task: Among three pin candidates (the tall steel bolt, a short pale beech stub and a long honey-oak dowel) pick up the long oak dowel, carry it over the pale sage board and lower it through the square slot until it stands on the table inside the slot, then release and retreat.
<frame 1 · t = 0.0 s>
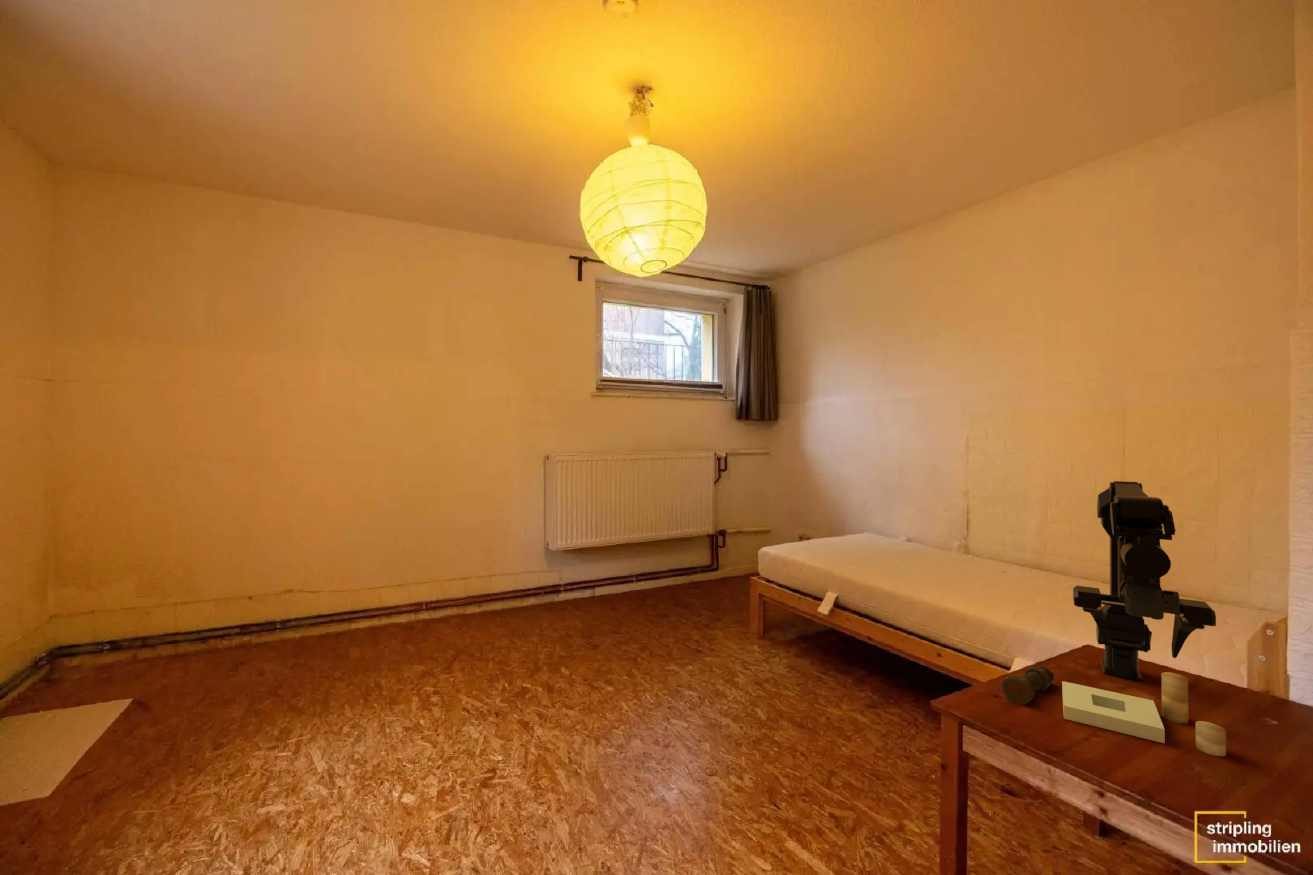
hand: (1139, 651, 96), 15 cm above the table, fingers open, 9 cm apart
short pin: (1210, 749, 90), on the table
bolt: (1032, 693, 111), on the table
long pin: (1174, 718, 100), on the table
board: (1108, 715, 101), on the table
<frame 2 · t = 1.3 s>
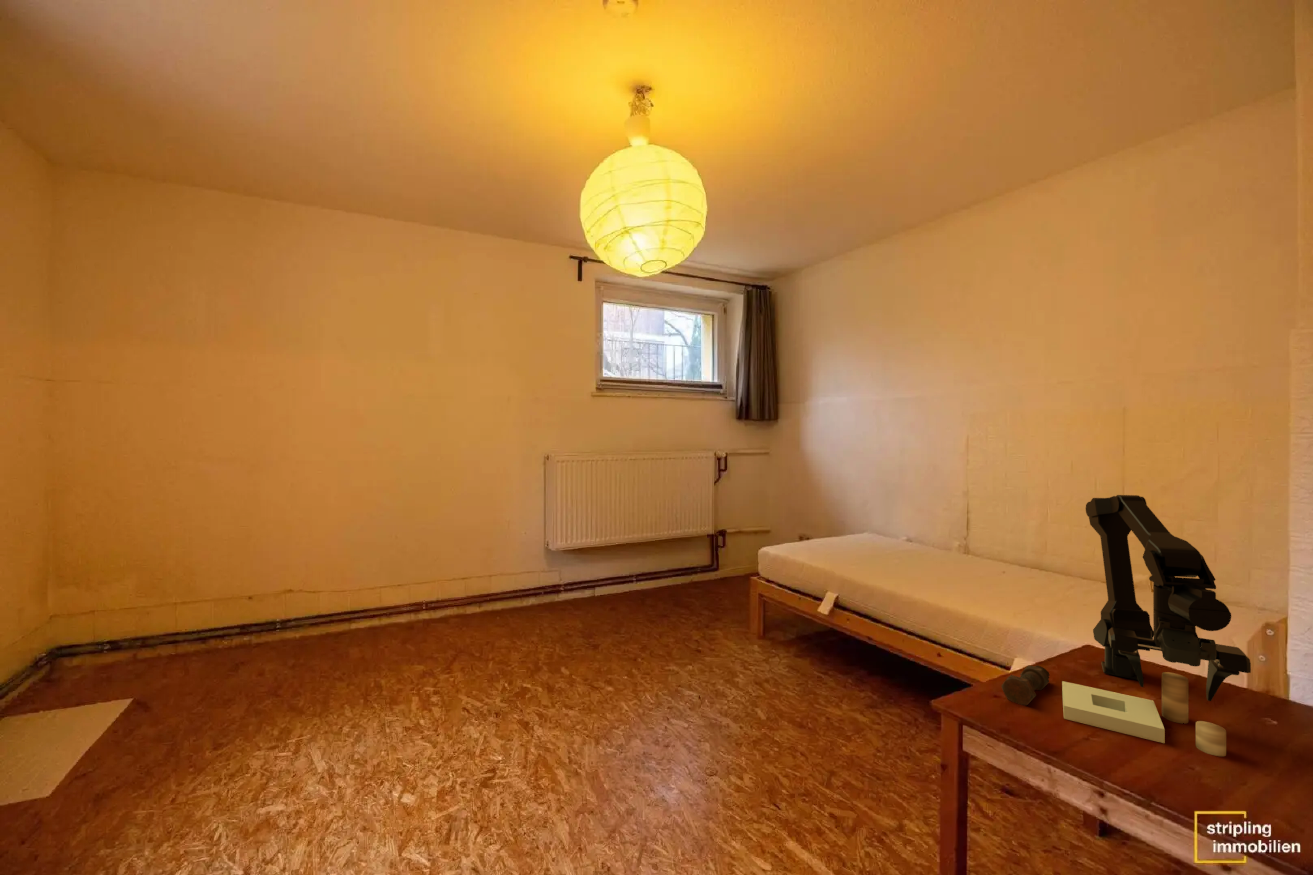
hand: (1174, 693, 100), 5 cm above the table, fingers open, 9 cm apart
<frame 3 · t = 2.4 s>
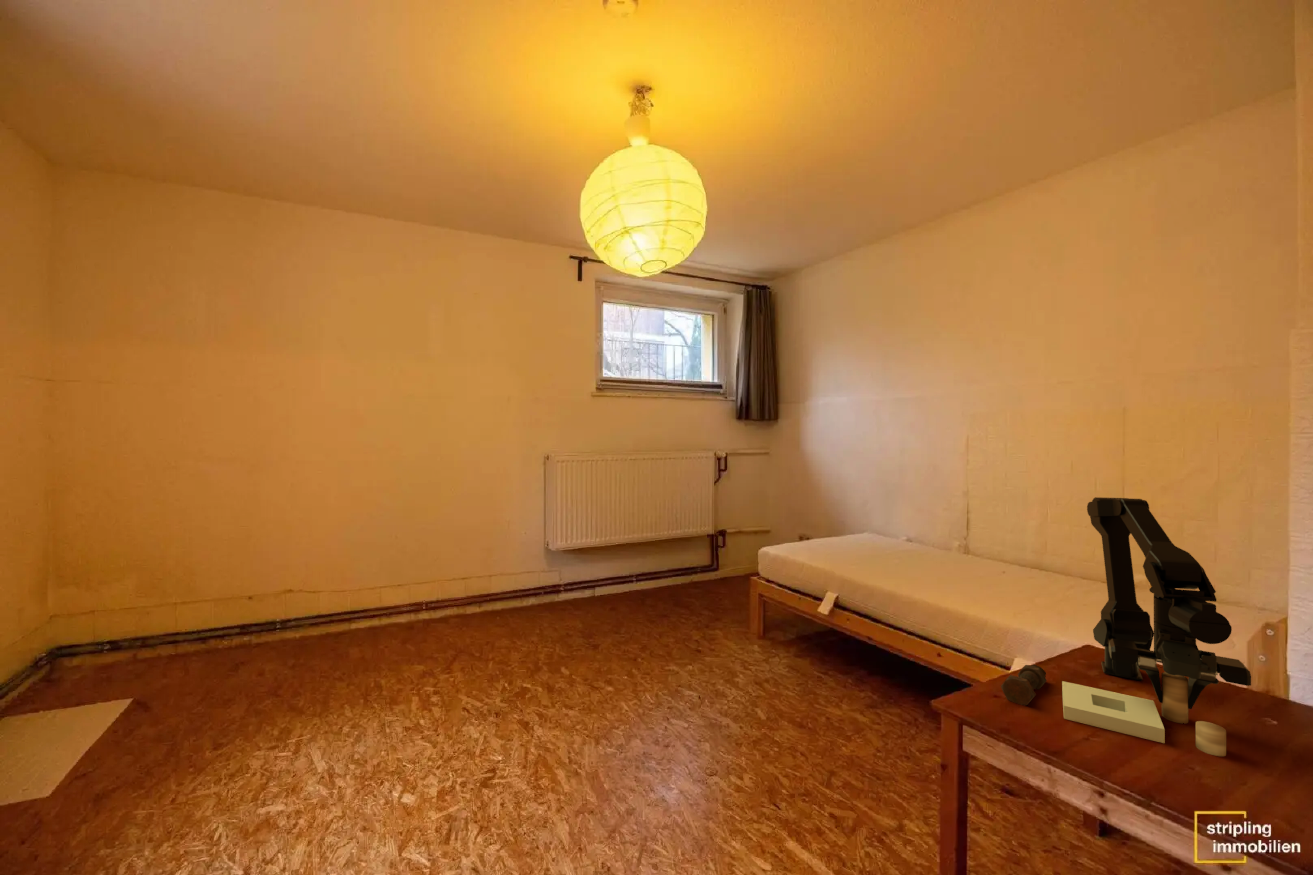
hand: (1174, 704, 100), 3 cm above the table, fingers closed on long pin, 4 cm apart
long pin: (1174, 718, 100), on the table, touching gripper
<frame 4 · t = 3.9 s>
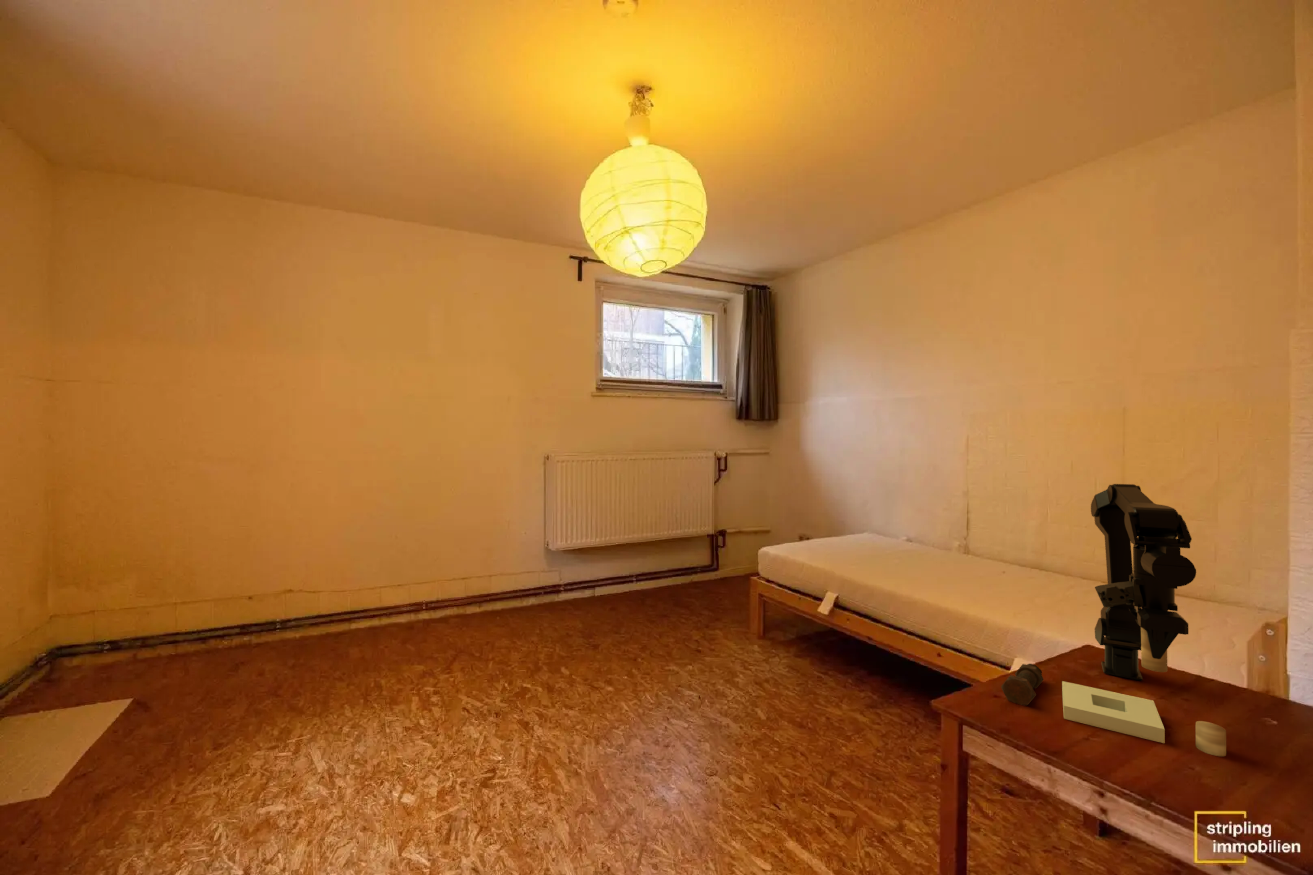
hand: (1154, 654, 100), 12 cm above the table, fingers closed on long pin, 4 cm apart
long pin: (1154, 667, 100), point 10 cm above the table, touching gripper
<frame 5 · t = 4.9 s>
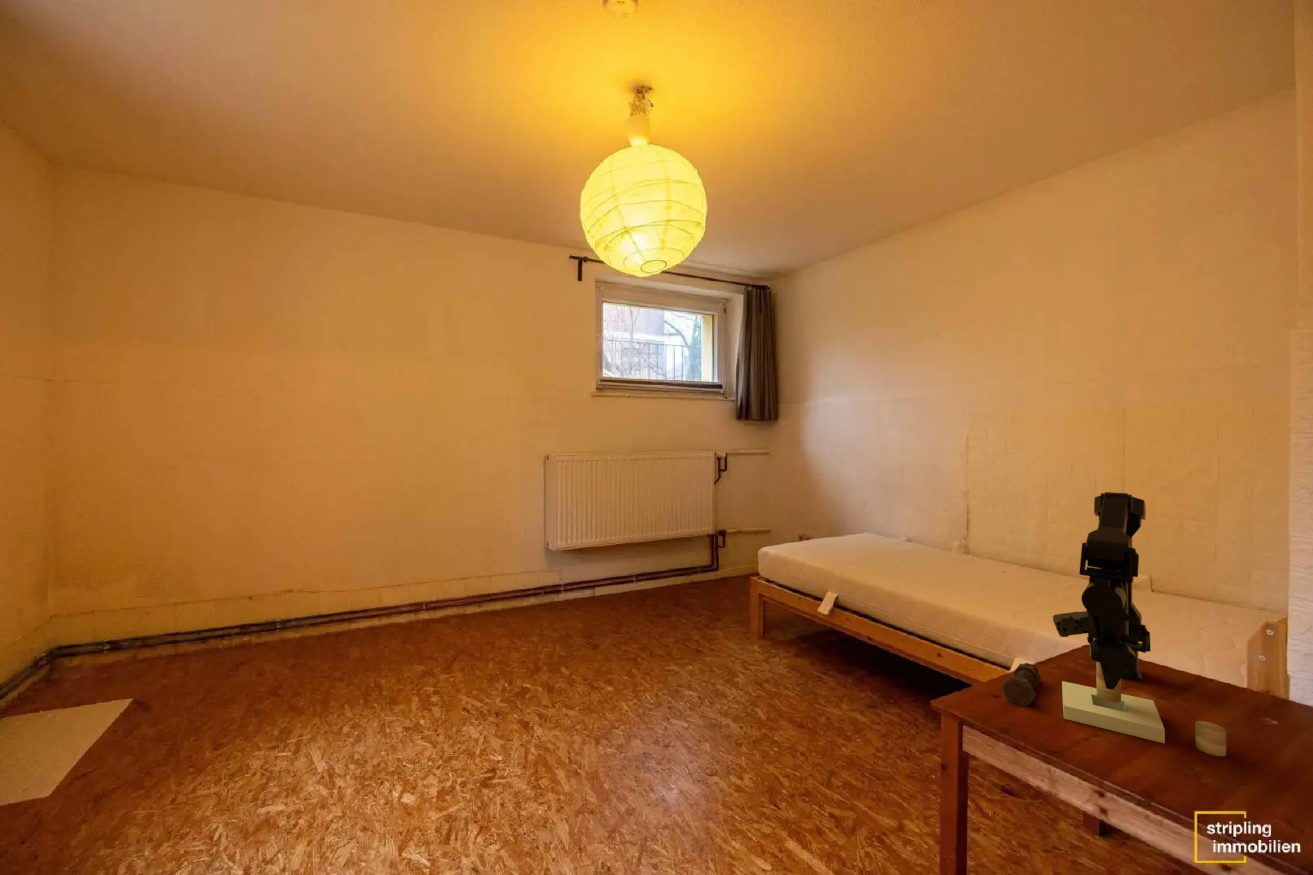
hand: (1108, 684, 101), 6 cm above the table, fingers closed on long pin, 4 cm apart
long pin: (1108, 697, 101), point 3 cm above the table, touching gripper
when the fingers open (4 cm above the table, at t = 5.5 s): long pin drops 1 cm, resting in board.
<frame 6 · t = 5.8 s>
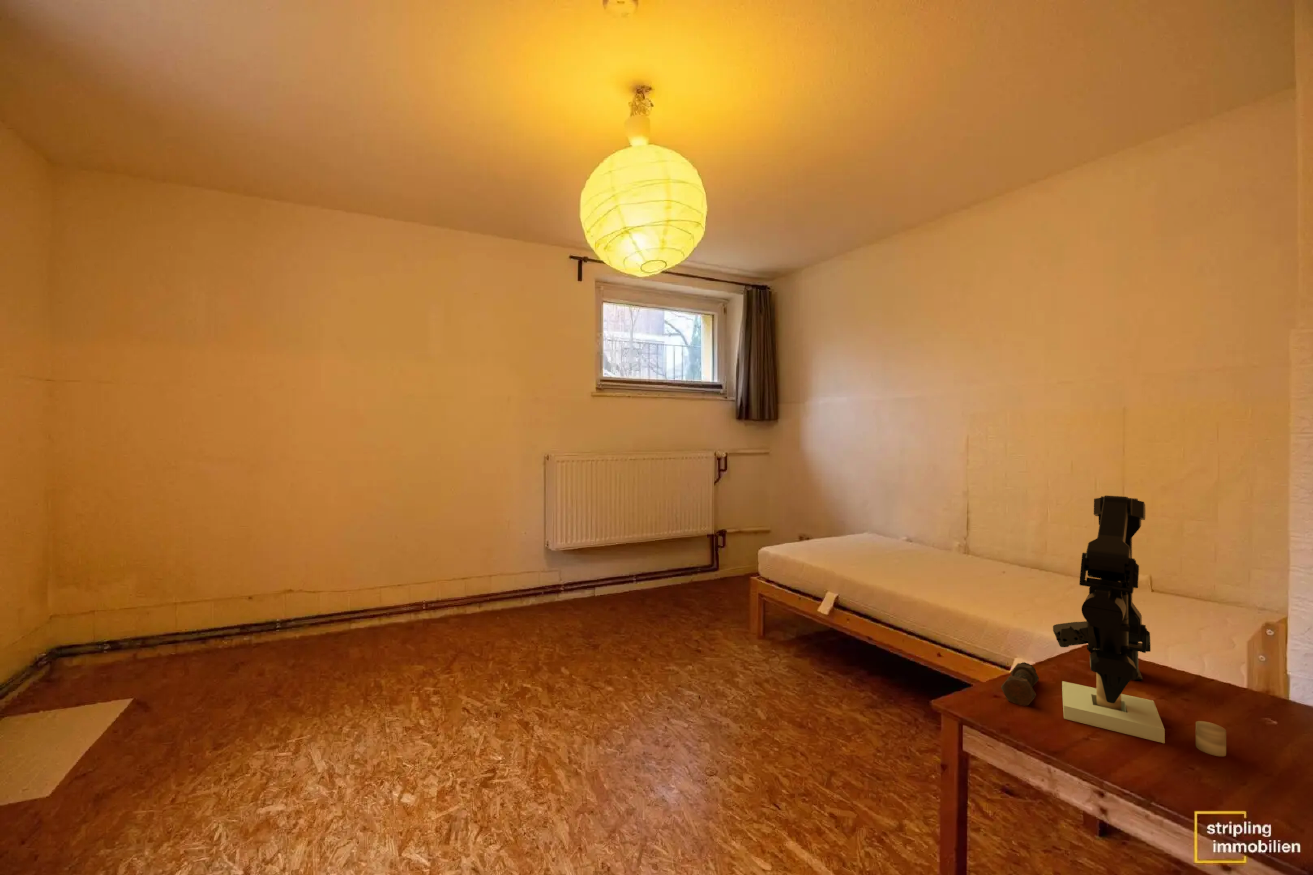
hand: (1108, 695, 101), 4 cm above the table, fingers open, 6 cm apart
long pin: (1108, 715, 101), resting in board
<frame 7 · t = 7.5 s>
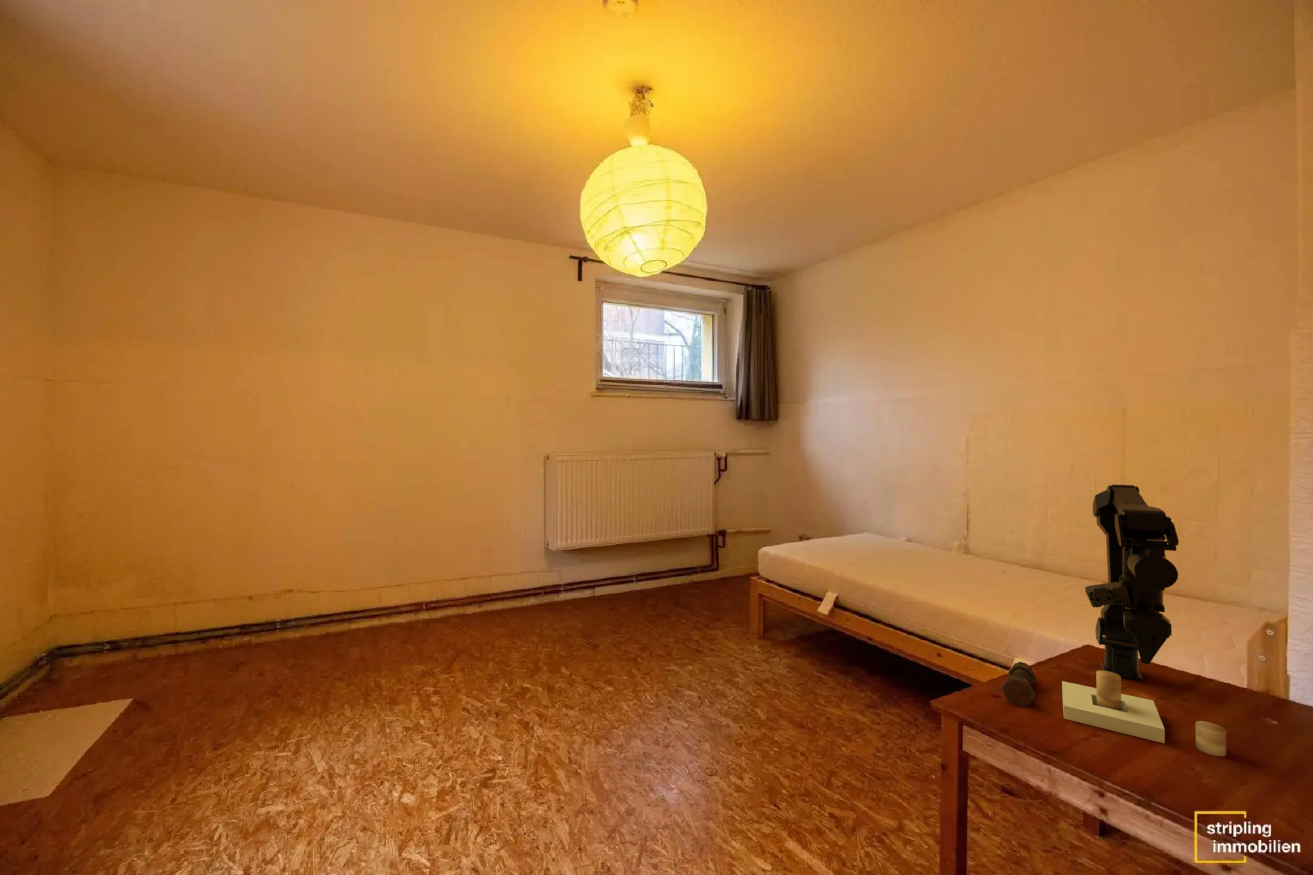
hand: (1142, 654, 101), 12 cm above the table, fingers open, 9 cm apart
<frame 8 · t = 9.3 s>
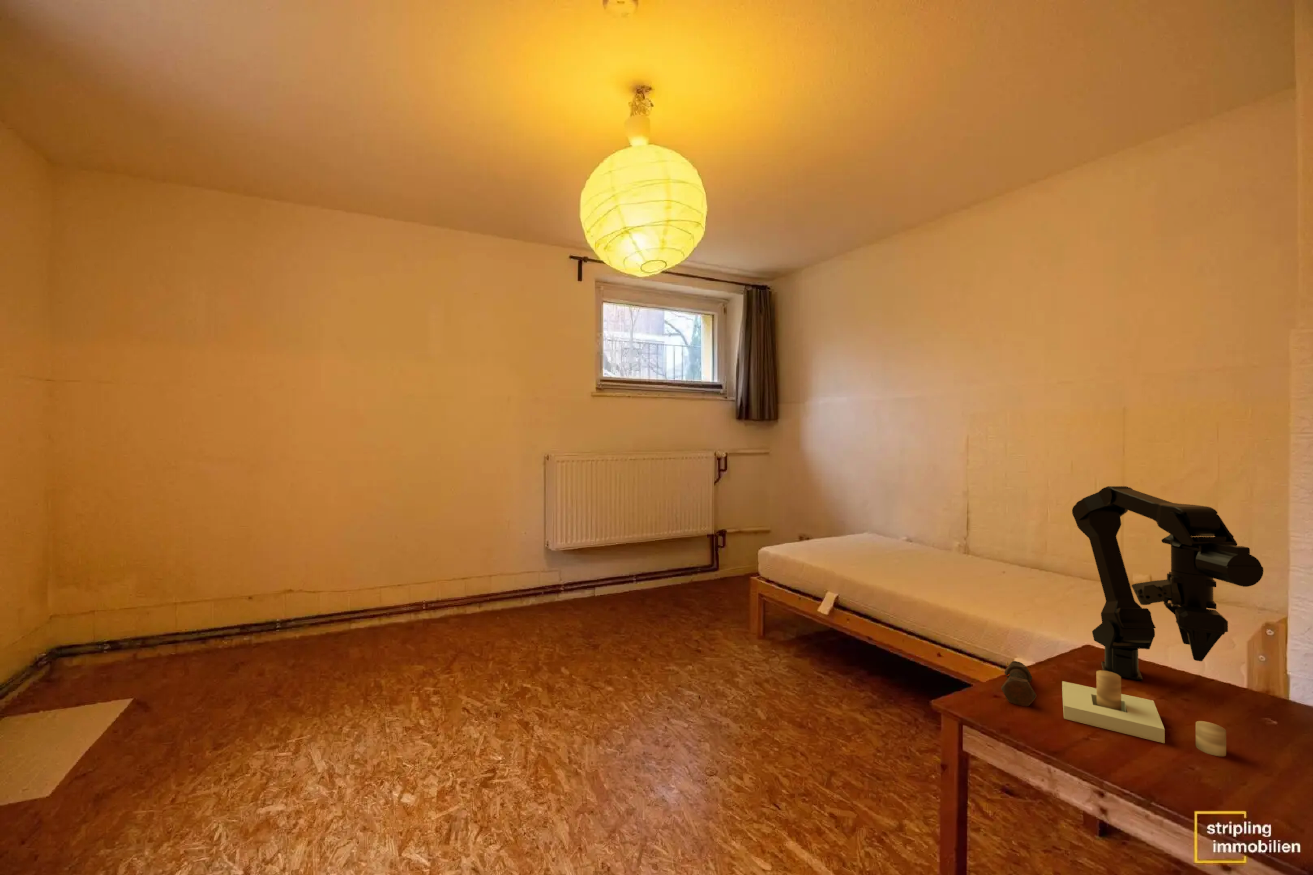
hand: (1192, 651, 101), 12 cm above the table, fingers open, 9 cm apart
at the end: long pin 0.1 cm off-centre on the board, point 0.0 cm above the board's base; long pin tilted 0°; the gripper is holding nothing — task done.
